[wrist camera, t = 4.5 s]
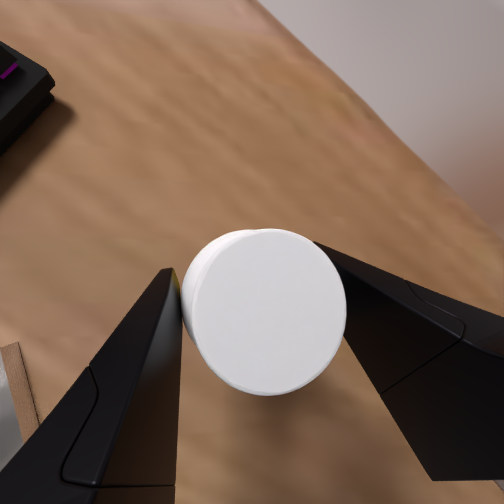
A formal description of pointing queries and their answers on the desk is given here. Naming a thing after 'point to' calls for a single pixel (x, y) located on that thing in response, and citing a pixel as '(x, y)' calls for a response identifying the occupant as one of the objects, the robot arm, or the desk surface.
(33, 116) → the keyboard
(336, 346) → the supplement bottle
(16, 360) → the cup bracket
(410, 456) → the desk surface
